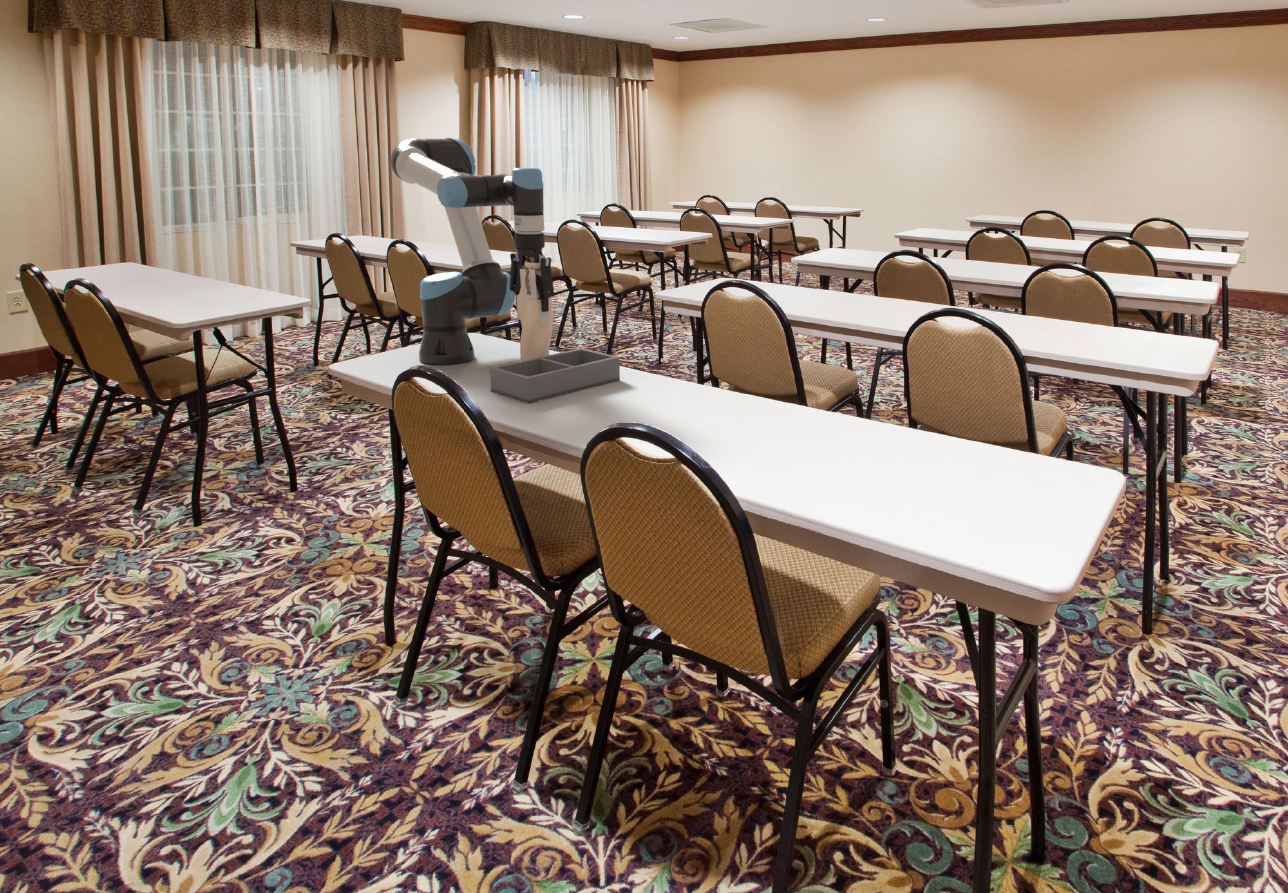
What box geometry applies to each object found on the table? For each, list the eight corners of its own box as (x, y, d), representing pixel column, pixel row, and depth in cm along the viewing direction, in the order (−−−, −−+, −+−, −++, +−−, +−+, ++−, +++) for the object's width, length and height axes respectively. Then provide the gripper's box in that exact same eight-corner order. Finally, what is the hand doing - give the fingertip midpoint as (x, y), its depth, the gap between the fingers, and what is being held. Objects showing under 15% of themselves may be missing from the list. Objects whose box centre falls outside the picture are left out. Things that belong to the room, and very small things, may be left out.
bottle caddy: (491, 391, 206) (489, 367, 204) (582, 370, 226) (581, 348, 224) (528, 403, 196) (527, 378, 194) (619, 380, 216) (619, 357, 214)
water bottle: (548, 369, 220) (549, 260, 210) (514, 366, 221) (513, 258, 210) (554, 358, 230) (556, 254, 219) (522, 355, 230) (521, 251, 220)
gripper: (492, 230, 218) (497, 317, 226) (544, 236, 204) (547, 329, 212) (515, 228, 223) (519, 313, 231) (567, 234, 209) (569, 325, 217)
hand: (532, 321), depth 221 cm, fingers closed on water bottle, 8 cm apart
